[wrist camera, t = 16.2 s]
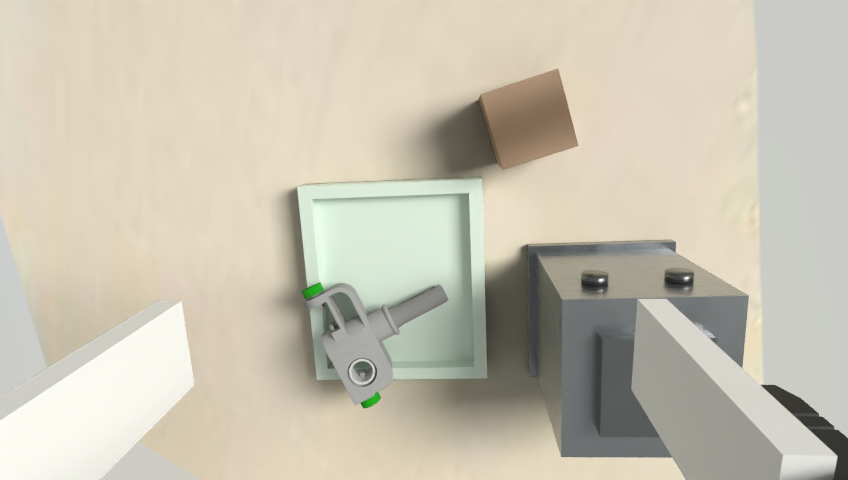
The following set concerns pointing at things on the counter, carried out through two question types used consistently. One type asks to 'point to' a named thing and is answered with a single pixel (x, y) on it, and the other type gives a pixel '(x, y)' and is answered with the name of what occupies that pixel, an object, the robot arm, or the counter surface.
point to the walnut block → (528, 119)
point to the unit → (613, 335)
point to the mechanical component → (366, 336)
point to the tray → (402, 267)
